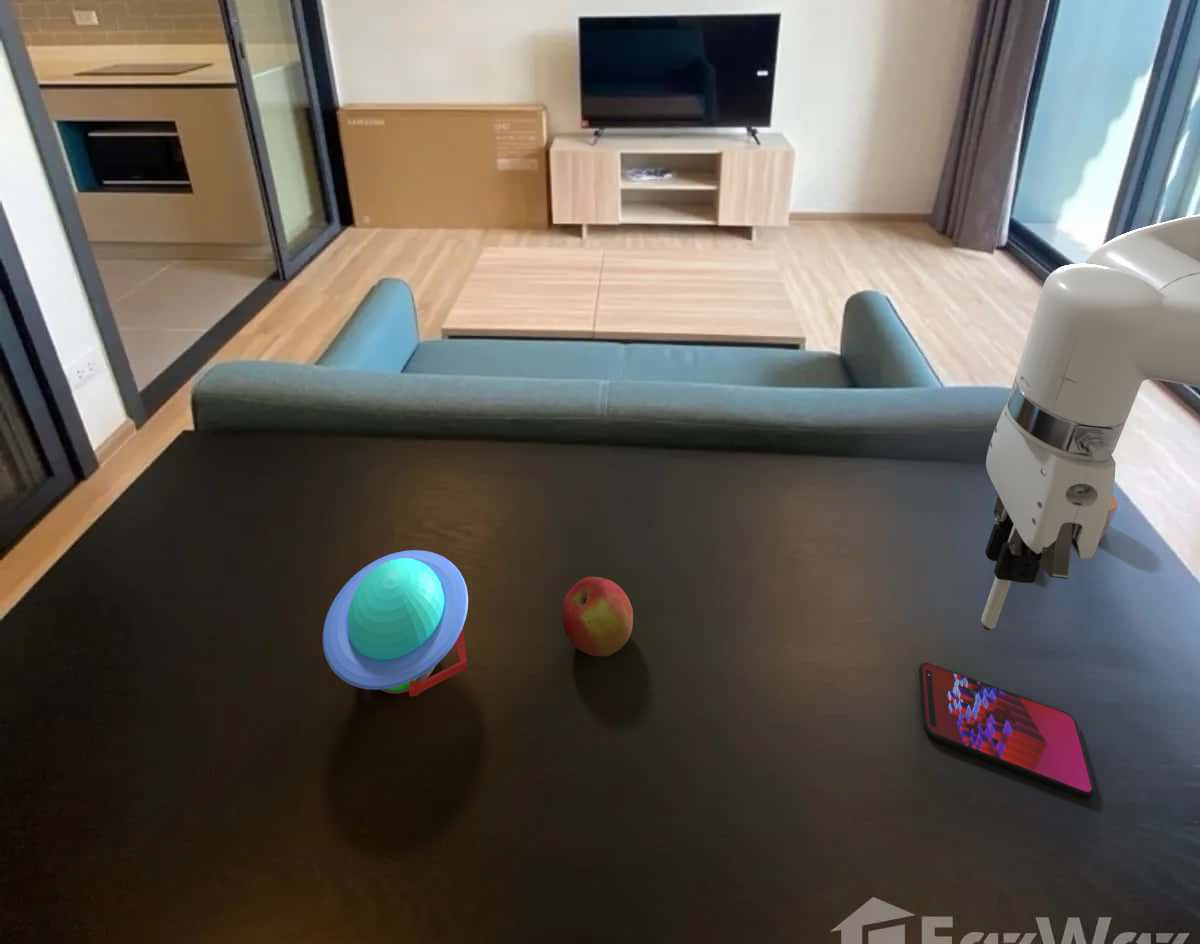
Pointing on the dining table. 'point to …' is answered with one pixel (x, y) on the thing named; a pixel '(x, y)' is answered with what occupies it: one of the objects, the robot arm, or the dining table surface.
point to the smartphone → (1004, 729)
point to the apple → (597, 616)
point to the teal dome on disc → (398, 623)
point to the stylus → (996, 599)
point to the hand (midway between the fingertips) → (1008, 567)
